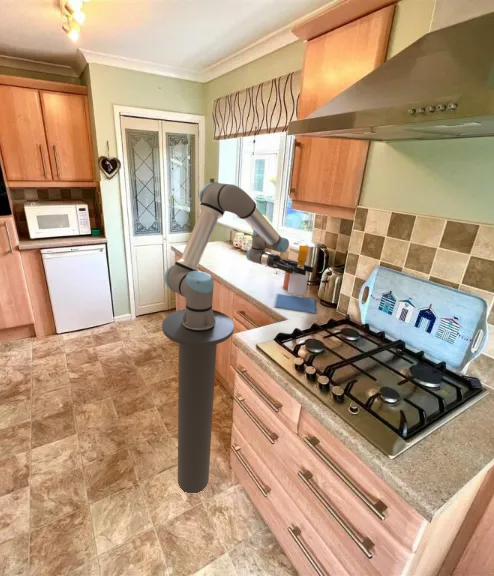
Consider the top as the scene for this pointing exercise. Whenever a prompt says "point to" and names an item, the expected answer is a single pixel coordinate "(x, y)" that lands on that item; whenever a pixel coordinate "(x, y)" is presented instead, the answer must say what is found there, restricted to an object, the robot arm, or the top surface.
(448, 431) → the top surface
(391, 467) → the top surface
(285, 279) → the terracotta cup
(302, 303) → the blue mat
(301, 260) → the soap bottle
